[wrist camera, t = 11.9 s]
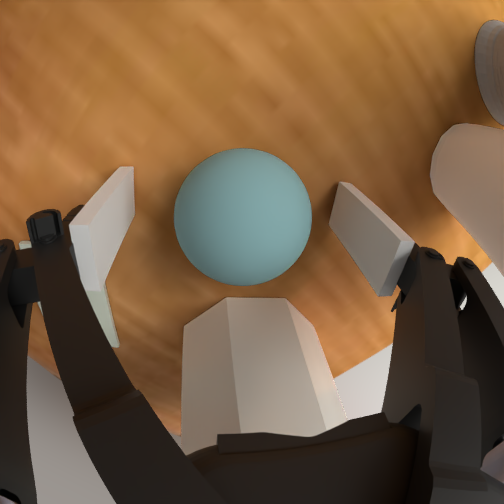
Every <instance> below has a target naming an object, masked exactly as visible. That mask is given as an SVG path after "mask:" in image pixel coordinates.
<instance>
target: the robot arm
mask: <svg viewBox="0 0 504 504" xmlns="http://www.w3.org/2000/svg"><path fill="white" fill-rule="evenodd" d="M134 216H135V202H134V167H119V168H118V169H117V170H116V171H115V172H114V173H113V174H112V175H111V177H110V178H109V179H108V180H107V181H106V182H105V183H104V184H103V185H102V186H101V187H100V189H99V190H98V191H97V192H96V193H95V194H94V195H93V196H92V198H91V199H90V200H89V201H88V202H87V203H86V205H79V206H77V207H75V208H74V209H72V210H71V211H70V212H69V213H68V214H67V216H66V217H65V218H64V219H63V221H62V219H61V213H60V212H59V211H58V210H55V209H47V210H42V211H39V212H37V213H35V214H33V215H31V216H30V217H29V218H28V219H27V221H26V224H27V229H28V233H29V237H30V241H31V247H30V248H26V249H20V250H16V249H15V246H14V242H13V241H12V240H10V239H2V240H0V504H37V494H36V488H35V480H34V474H33V468H32V461H31V453H30V445H29V435H28V422H27V396H26V379H27V353H28V339H29V329H30V319H31V311H32V304H33V303H34V302H40V304H41V308H42V313H43V317H44V322H45V326H46V330H47V334H48V337H49V341H50V345H51V348H52V352H53V355H54V358H55V362H56V365H57V368H58V371H59V374H60V377H61V380H62V382H63V385H64V388H65V391H66V393H67V396H68V399H69V401H70V403H71V406H72V409H73V412H74V416H73V421H74V424H75V426H76V429H77V431H78V434H79V436H80V438H81V440H82V442H83V444H84V447H85V449H86V451H87V453H88V455H89V457H90V459H91V461H92V462H93V464H94V466H95V468H96V470H97V472H98V474H99V475H100V477H101V479H102V481H103V482H104V484H105V486H106V487H107V489H108V491H109V492H110V494H111V496H112V497H113V499H114V500H115V502H116V504H504V308H503V306H502V305H501V303H500V301H499V299H498V298H497V296H496V295H495V293H494V292H493V290H492V288H491V287H490V285H489V283H488V282H487V280H486V279H485V277H484V276H483V275H482V273H481V271H480V270H479V268H478V267H477V266H476V265H475V264H474V263H473V261H471V260H470V259H468V258H464V257H457V259H456V261H455V263H454V265H449V264H446V262H445V259H444V257H443V256H442V255H441V254H440V253H438V252H437V251H436V250H434V249H432V248H428V247H419V246H418V245H417V244H416V243H415V241H414V240H413V239H412V238H411V237H410V236H408V235H407V234H406V233H405V232H404V231H403V230H402V229H401V228H400V227H399V226H398V225H397V224H396V223H395V222H394V221H393V220H392V219H391V218H390V217H389V216H387V215H386V214H385V213H384V212H383V211H382V210H381V209H380V208H379V207H378V206H377V205H375V204H374V203H373V202H372V201H371V200H370V199H369V198H368V197H366V196H365V195H364V194H363V193H362V192H361V191H359V190H358V189H357V188H356V187H355V186H354V185H352V184H351V183H346V182H339V184H338V188H337V193H336V197H335V201H334V205H333V209H332V213H331V216H330V220H329V224H328V225H329V226H330V228H331V229H332V230H333V232H334V233H335V234H336V236H337V237H338V239H339V240H340V241H341V243H342V244H343V246H344V247H345V248H346V250H347V251H348V253H349V254H350V256H351V257H352V258H353V260H354V261H355V263H356V264H357V266H358V267H359V269H360V270H361V272H362V273H363V275H364V276H365V278H366V279H367V281H368V282H369V284H370V285H371V287H372V288H373V290H374V291H375V293H376V294H377V296H392V294H393V292H394V290H395V288H396V285H398V286H399V288H400V289H401V291H400V293H399V295H398V297H397V299H396V301H395V303H394V305H393V307H392V310H391V312H393V311H394V309H396V320H395V330H394V339H393V347H392V354H391V361H390V368H389V374H388V380H387V386H386V391H385V397H384V402H383V407H382V412H381V413H378V414H373V415H369V416H365V417H361V418H356V419H352V420H349V421H346V422H344V423H342V424H340V425H338V426H336V427H334V428H332V429H330V430H327V431H325V432H323V433H321V434H318V435H316V436H312V437H304V436H293V435H284V434H276V433H268V432H256V433H238V434H217V442H216V445H213V446H209V447H205V448H202V449H200V450H197V451H195V452H193V453H191V454H188V455H185V454H184V452H183V451H182V450H181V448H180V447H179V446H178V445H177V443H176V442H175V441H174V439H173V438H172V436H171V435H170V434H169V432H168V431H167V429H166V428H165V427H164V425H163V424H162V422H161V421H160V419H159V418H158V417H157V415H156V414H155V412H154V411H153V409H152V408H151V406H150V405H149V403H148V402H147V400H146V399H145V397H144V396H143V394H142V393H141V392H140V391H139V390H136V389H135V388H134V386H133V385H132V383H131V381H130V380H129V378H128V376H127V374H126V373H125V371H124V369H123V367H122V366H121V364H120V362H119V360H118V358H117V356H116V354H115V353H114V351H113V349H112V347H111V345H110V343H109V341H108V339H107V337H106V335H105V333H104V331H103V329H102V327H101V325H100V323H99V321H98V318H97V316H96V314H95V312H94V310H93V307H92V305H91V303H90V301H89V298H88V296H87V294H86V291H98V292H101V290H102V287H103V285H104V282H105V280H106V277H107V275H108V273H109V270H110V268H111V266H112V263H113V261H114V259H115V256H116V254H117V252H118V250H119V247H120V245H121V243H122V241H123V239H124V237H125V234H126V232H127V230H128V228H129V226H130V224H131V222H132V220H133V218H134ZM466 295H467V302H466V305H465V307H464V309H463V310H461V308H460V305H461V304H462V302H463V301H464V299H465V297H466Z"/></svg>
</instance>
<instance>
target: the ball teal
mask: <svg viewBox="0 0 504 504" xmlns="http://www.w3.org/2000/svg"><path fill="white" fill-rule="evenodd" d="M311 224H312V210H311V203H310V199H309V196H308V193H307V190H306V188H305V186H304V184H303V183H302V181H301V179H300V178H299V176H298V175H297V174H296V172H295V171H294V170H293V169H292V168H291V167H290V166H288V165H287V164H286V163H285V162H284V161H282V160H281V159H279V158H278V157H276V156H274V155H272V154H270V153H267V152H264V151H260V150H255V149H249V148H237V149H230V150H226V151H222V152H219V153H217V154H214V155H212V156H210V157H209V158H207V159H205V160H204V161H203V162H201V163H200V164H198V165H197V166H196V167H195V168H194V169H193V170H192V171H191V172H190V174H189V175H188V176H187V177H186V179H185V180H184V182H183V184H182V186H181V188H180V190H179V193H178V195H177V198H176V202H175V209H174V227H175V231H176V236H177V239H178V242H179V245H180V247H181V248H182V250H183V252H184V254H185V256H186V257H187V258H188V260H189V261H190V262H191V263H192V264H193V265H194V266H195V267H196V268H197V269H198V270H199V271H201V272H202V273H203V274H205V275H206V276H208V277H210V278H212V279H214V280H216V281H219V282H222V283H225V284H229V285H236V286H250V285H256V284H261V283H264V282H267V281H270V280H272V279H274V278H276V277H278V276H279V275H281V274H282V273H284V272H285V271H286V270H288V269H289V268H290V267H291V266H292V265H293V264H294V263H295V261H296V260H297V259H298V258H299V256H300V255H301V253H302V252H303V250H304V248H305V246H306V244H307V241H308V238H309V235H310V231H311Z"/></svg>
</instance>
